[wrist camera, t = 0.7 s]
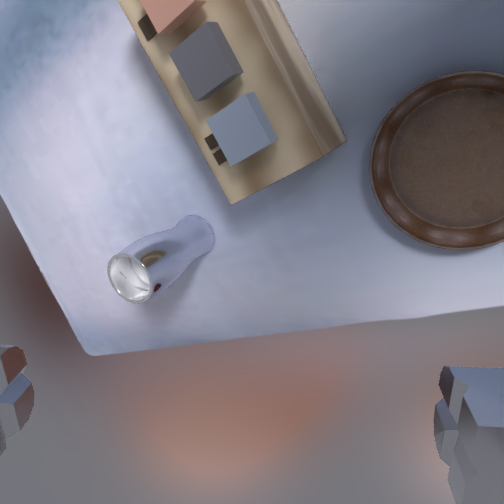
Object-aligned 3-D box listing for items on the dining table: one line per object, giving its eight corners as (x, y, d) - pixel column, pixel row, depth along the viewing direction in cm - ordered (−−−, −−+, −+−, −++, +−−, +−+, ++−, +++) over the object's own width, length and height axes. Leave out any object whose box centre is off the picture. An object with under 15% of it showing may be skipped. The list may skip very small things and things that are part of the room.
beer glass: (220, 258, 66) (158, 308, 54) (181, 255, 69) (113, 302, 57) (213, 212, 63) (146, 253, 51) (172, 211, 66) (99, 250, 54)
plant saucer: (480, 26, 42) (479, 26, 40) (607, 168, 42) (614, 176, 40) (343, 154, 53) (335, 160, 50) (445, 268, 53) (443, 279, 50)
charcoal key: (217, 22, 42) (206, 21, 40) (243, 72, 43) (234, 73, 41) (180, 53, 45) (168, 53, 43) (206, 99, 46) (195, 101, 44)
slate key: (254, 91, 43) (244, 93, 41) (279, 139, 44) (270, 143, 42) (215, 117, 46) (205, 120, 44) (240, 162, 47) (230, 166, 45)
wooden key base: (234, -84, 48) (185, -108, 40) (346, 140, 52) (321, 157, 44) (159, -10, 54) (105, -18, 47) (264, 184, 58) (229, 205, 51)
